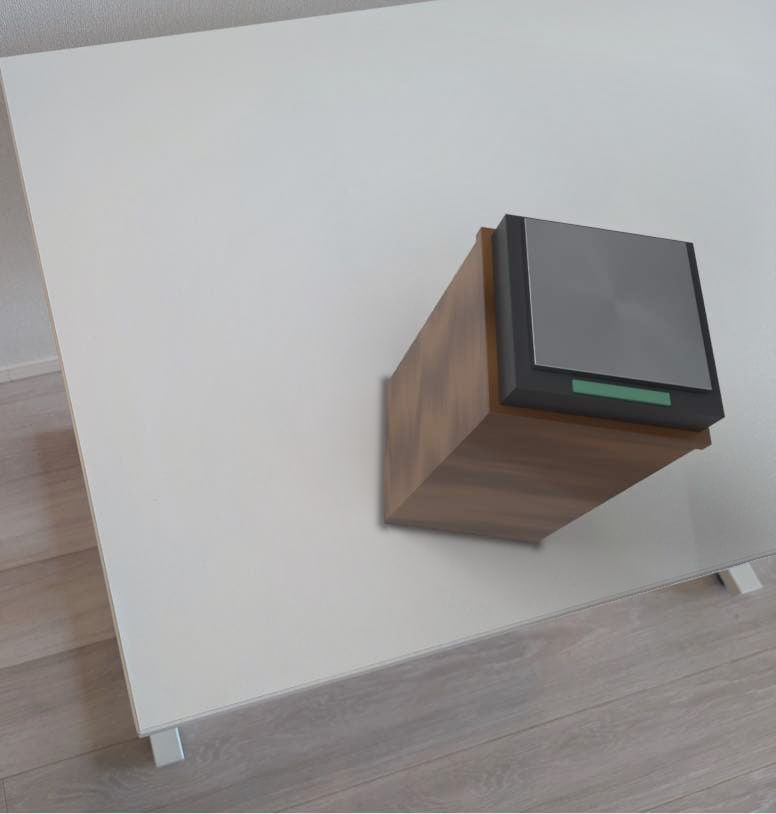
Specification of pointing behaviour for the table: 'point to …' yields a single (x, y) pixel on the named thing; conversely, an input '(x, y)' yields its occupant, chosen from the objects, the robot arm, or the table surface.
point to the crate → (498, 432)
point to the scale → (602, 325)
